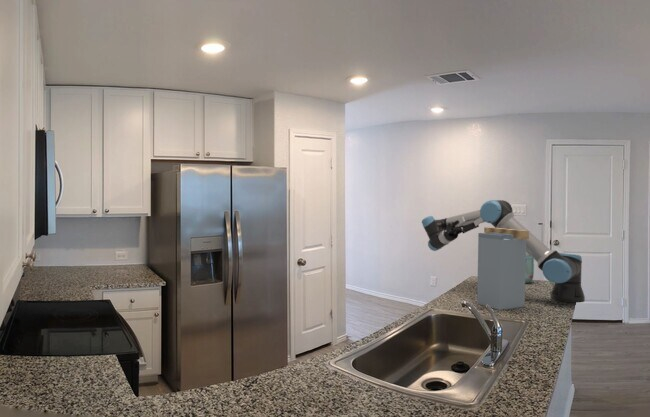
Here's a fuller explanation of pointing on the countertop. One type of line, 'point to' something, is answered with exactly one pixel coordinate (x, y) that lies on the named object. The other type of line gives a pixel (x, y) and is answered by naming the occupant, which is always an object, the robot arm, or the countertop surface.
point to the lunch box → (529, 268)
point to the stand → (501, 271)
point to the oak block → (508, 232)
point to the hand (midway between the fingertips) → (473, 218)
